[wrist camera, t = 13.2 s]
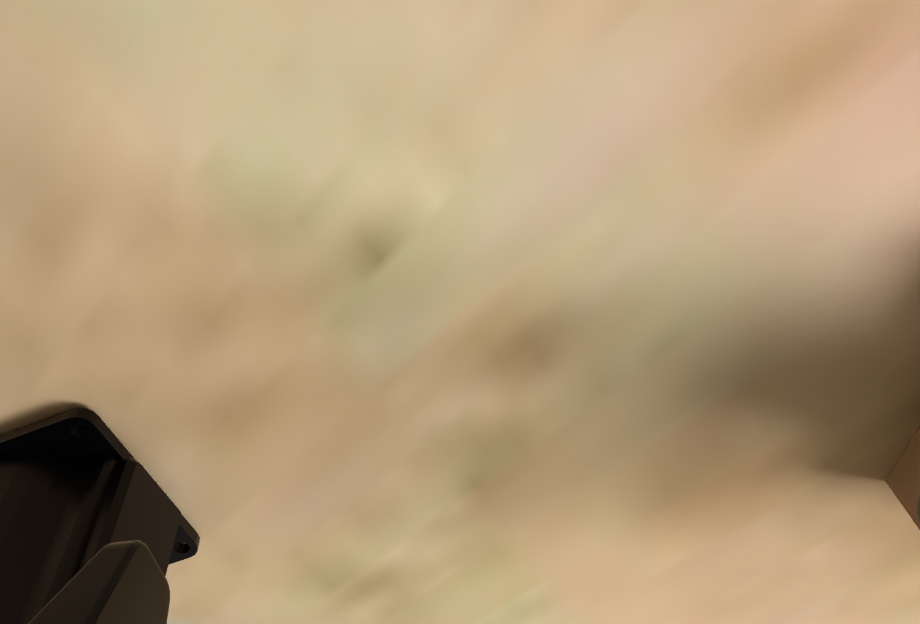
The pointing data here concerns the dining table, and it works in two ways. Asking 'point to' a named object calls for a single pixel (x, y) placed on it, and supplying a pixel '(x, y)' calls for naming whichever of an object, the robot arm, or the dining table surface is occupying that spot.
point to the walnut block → (908, 477)
